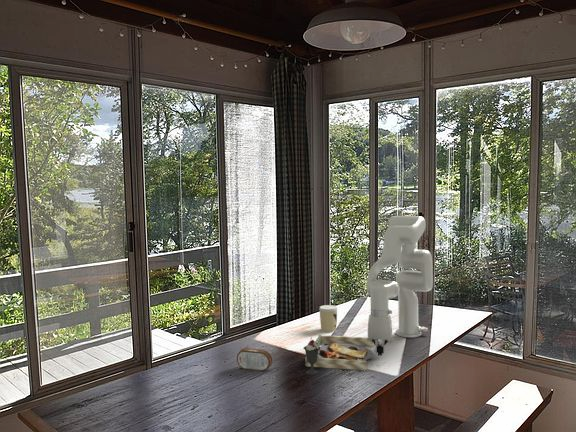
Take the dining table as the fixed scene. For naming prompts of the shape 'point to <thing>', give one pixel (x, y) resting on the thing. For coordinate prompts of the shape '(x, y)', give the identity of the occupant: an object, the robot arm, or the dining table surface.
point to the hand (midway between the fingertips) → (380, 354)
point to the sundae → (312, 356)
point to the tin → (254, 359)
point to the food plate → (345, 352)
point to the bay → (341, 362)
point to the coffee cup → (328, 318)
